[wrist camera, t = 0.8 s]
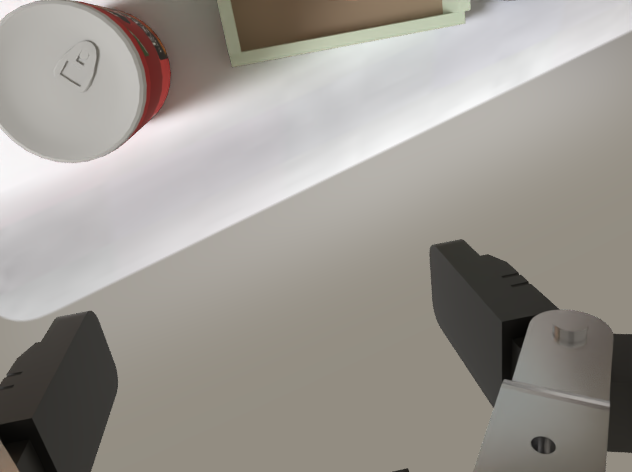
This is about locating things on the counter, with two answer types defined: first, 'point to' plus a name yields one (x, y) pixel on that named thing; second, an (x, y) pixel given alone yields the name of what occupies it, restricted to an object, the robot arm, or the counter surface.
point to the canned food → (78, 78)
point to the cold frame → (325, 24)
